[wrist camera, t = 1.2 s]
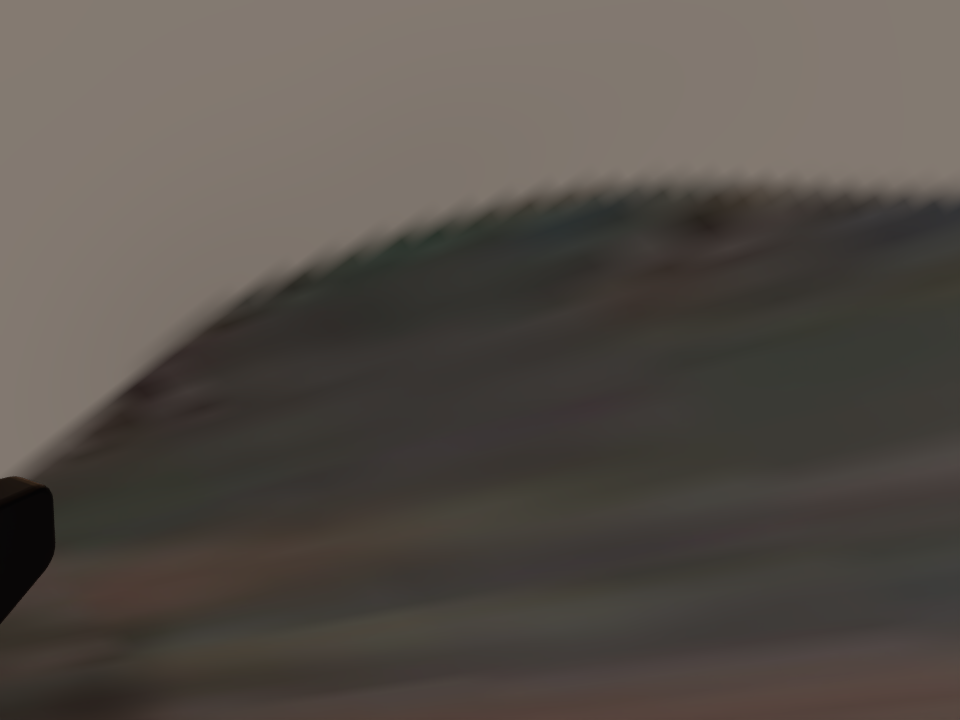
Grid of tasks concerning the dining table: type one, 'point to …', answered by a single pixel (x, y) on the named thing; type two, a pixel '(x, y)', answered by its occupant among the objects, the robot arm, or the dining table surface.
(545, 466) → the dining table surface
